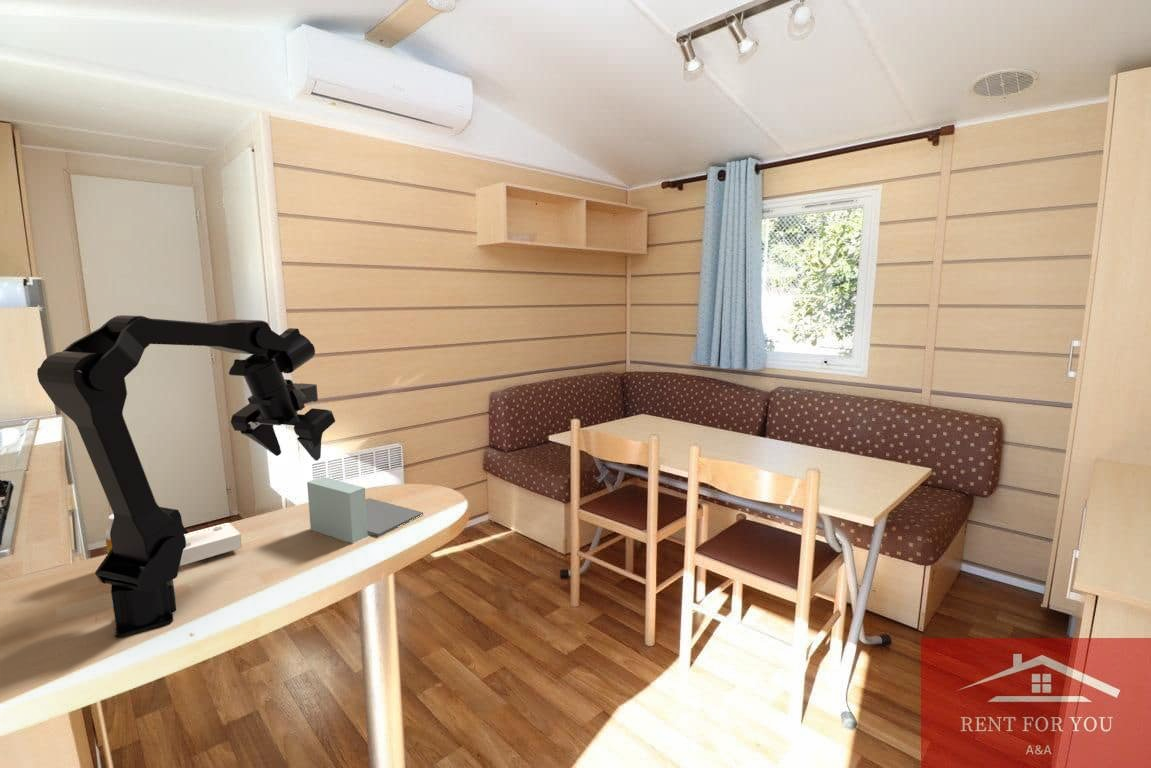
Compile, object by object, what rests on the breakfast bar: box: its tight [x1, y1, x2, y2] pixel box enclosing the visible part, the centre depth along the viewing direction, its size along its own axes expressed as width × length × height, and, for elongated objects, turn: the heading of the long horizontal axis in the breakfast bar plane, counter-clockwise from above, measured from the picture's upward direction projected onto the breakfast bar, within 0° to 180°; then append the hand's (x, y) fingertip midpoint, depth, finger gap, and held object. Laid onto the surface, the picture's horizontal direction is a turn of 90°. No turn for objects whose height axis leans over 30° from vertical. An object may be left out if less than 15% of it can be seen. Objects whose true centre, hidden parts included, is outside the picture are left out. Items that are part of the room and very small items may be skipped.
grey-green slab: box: [306, 476, 369, 544], centre depth 108 cm, size 4×12×10 cm, turn 61°
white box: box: [179, 522, 243, 567], centre depth 98 cm, size 13×7×8 cm, turn 137°
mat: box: [365, 497, 424, 538], centre depth 117 cm, size 12×16×1 cm
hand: (298, 456), depth 107 cm, fingers open, 9 cm apart
